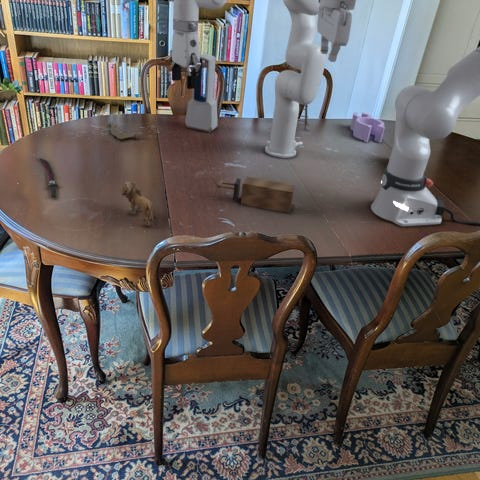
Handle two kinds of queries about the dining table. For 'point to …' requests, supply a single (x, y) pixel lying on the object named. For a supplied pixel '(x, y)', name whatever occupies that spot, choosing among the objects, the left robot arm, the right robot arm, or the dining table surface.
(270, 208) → the cabinet
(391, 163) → the right robot arm
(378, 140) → the clip
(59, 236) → the dining table surface
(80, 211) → the dining table surface
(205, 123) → the electronic device
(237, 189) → the wooden handle frame
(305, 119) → the miniature windmill
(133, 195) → the lion figurine
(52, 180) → the sword
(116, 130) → the jawbone
